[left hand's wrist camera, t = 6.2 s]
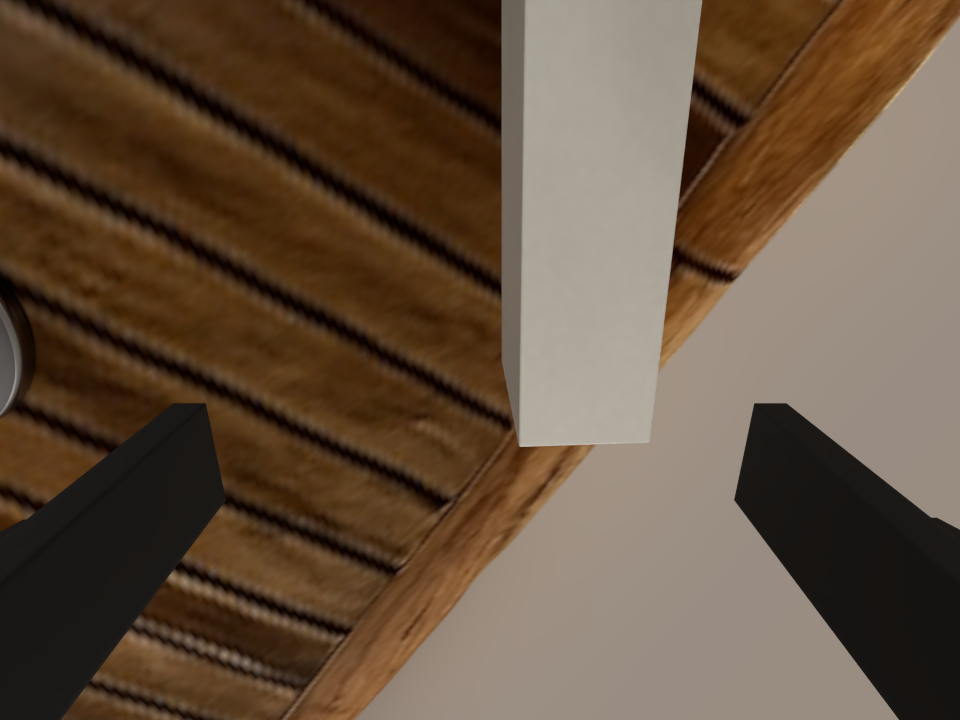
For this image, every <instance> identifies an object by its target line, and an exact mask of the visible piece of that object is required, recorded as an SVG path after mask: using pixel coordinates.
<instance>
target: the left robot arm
mask: <svg viewBox="0 0 960 720" xmlns="http://www.w3.org/2000/svg"><path fill="white" fill-rule="evenodd" d="M34 366H35V352H34V345H33V340H32V336H31V332H30V329H29V326H28V324H27V321H26V319H25V317H24V315H23V313H22V311H21V309H20V307H19V305H18V304H17V302H16V300H15V299H14V297H13V296H12V294H11V293H10V292H9V290H8V289H7V288H6V286H5V285H4V284H3V283H2V281H1V280H0V419H1V418H2V417H4V416H5V415H7V414H8V413H10V412H11V411H12V410H13V409H15V408H16V406H17V405H18V404H19V403H20V402H21V401H22V399H23V398H24V397H25V395H26V393H27V391H28V389H29V387H30V384H31V382H32V378H33V374H34ZM225 500H226V499H225V494H224V490H223V485H222V480H221V475H220V470H219V466H218V461H217V456H216V451H215V446H214V441H213V437H212V432H211V427H210V422H209V417H208V413H207V408H206V403H174V404H172V405H171V406H170V407H168V408H167V409H166V410H165V411H163V412H162V413H161V414H160V415H158V416H157V417H156V418H155V419H153V420H152V421H151V422H150V423H148V424H147V425H146V426H144V427H143V428H142V429H141V430H139V431H138V432H137V433H136V434H134V435H133V436H132V437H131V438H129V439H128V440H127V441H125V442H124V443H123V444H122V445H120V446H119V447H118V448H117V449H115V450H114V451H113V452H112V453H110V454H109V455H108V456H106V457H105V458H104V459H103V460H101V461H100V462H99V463H98V464H96V465H95V466H94V467H93V468H91V469H90V470H89V471H88V472H86V473H85V474H84V475H82V476H81V477H80V478H79V479H77V480H76V481H75V482H74V483H72V484H71V485H70V486H69V487H67V488H66V489H65V490H63V491H62V492H61V493H60V494H58V495H57V496H56V497H55V498H53V499H52V500H51V501H50V502H48V503H47V504H46V505H44V506H43V507H42V508H41V509H39V510H38V511H37V512H36V513H34V514H33V515H32V516H31V517H29V518H28V519H27V520H22V521H20V522H18V523H17V524H15V525H13V526H11V527H9V528H7V529H5V530H3V531H1V532H0V720H61V719H62V718H63V716H64V715H65V714H66V712H67V711H68V710H69V708H70V707H71V706H72V704H73V703H74V702H75V700H76V699H77V698H78V696H79V695H80V694H81V692H82V691H83V690H84V688H85V687H86V686H87V684H88V683H89V682H90V680H91V679H92V678H93V676H94V675H95V674H96V672H97V671H98V670H99V668H100V667H101V666H102V664H103V663H104V662H105V660H106V659H107V658H108V656H109V655H110V654H111V652H112V651H113V650H114V648H115V647H116V646H117V644H118V643H119V642H120V640H121V639H122V638H123V636H124V635H125V634H126V632H127V631H128V630H129V628H130V627H131V626H132V624H133V623H134V622H135V620H136V619H137V618H138V616H139V615H140V614H141V612H142V611H143V610H144V608H145V607H146V606H147V604H148V603H149V602H150V600H151V599H152V598H153V596H154V595H155V594H156V592H157V591H158V590H159V588H160V587H161V586H162V584H163V583H164V582H165V580H166V579H167V578H168V576H169V575H170V574H171V572H172V571H173V570H174V568H175V567H176V566H177V564H178V563H179V562H180V560H181V559H182V558H183V556H184V555H185V554H186V552H187V551H188V550H189V548H190V547H191V546H192V544H193V543H194V542H195V540H196V539H197V538H198V536H199V535H200V534H201V532H202V531H203V530H204V528H205V527H206V526H207V524H208V523H209V522H210V520H211V519H212V518H213V516H214V515H215V514H216V512H217V511H218V510H219V508H220V507H221V506H222V504H223V503H224V502H225ZM734 500H735V502H736V503H737V504H738V506H739V507H740V508H741V510H742V511H743V512H744V514H745V515H746V516H747V518H748V519H749V520H750V522H751V523H752V524H753V526H754V527H755V528H756V530H757V531H758V532H759V534H760V535H761V536H762V538H763V539H764V540H765V542H766V543H767V544H768V546H769V547H770V548H771V550H772V551H773V552H774V554H775V555H776V556H777V558H778V559H779V560H780V562H781V563H782V564H783V566H784V567H785V568H786V570H787V571H788V572H789V574H790V575H791V576H792V578H793V579H794V580H795V582H796V583H797V584H798V585H799V587H800V588H801V590H802V591H803V592H804V594H805V595H806V596H807V598H808V599H809V600H810V602H811V603H812V604H813V606H814V607H815V608H816V610H817V611H818V612H819V614H820V615H821V616H822V618H823V619H824V620H825V621H826V623H827V624H828V626H829V627H830V628H831V630H832V631H833V632H834V633H835V635H836V636H837V638H838V639H839V640H840V642H841V643H842V644H843V645H844V647H845V648H846V650H847V651H848V652H849V654H850V655H851V656H852V658H853V659H854V660H855V662H856V663H857V664H858V666H859V667H860V668H861V670H862V671H863V672H864V674H865V675H866V676H867V678H868V679H869V680H870V681H871V683H872V684H873V685H874V687H875V688H876V690H877V691H878V692H879V694H880V695H881V696H882V697H883V699H884V700H885V702H886V703H887V704H888V706H889V707H890V708H891V710H892V711H893V712H894V713H895V715H896V716H897V718H898V719H899V720H960V530H959V529H957V528H955V527H953V526H952V525H950V524H948V523H946V522H944V521H942V520H940V519H938V518H931V517H929V516H928V515H927V514H926V513H924V512H923V511H922V510H921V509H919V508H918V507H917V506H915V505H914V504H913V503H912V502H910V501H909V500H908V499H907V498H905V497H904V496H903V495H902V494H900V493H899V492H898V491H897V490H895V489H894V488H893V487H891V486H890V485H889V484H888V483H886V482H885V481H884V480H883V479H881V478H880V477H879V476H878V475H876V474H875V473H874V472H872V471H871V470H870V469H869V468H867V467H866V466H865V465H864V464H862V463H861V462H860V461H859V460H857V459H856V458H855V457H854V456H852V455H851V454H850V453H848V452H847V451H846V450H845V449H843V448H842V447H841V446H840V445H838V444H837V443H836V442H835V441H833V440H832V439H831V438H829V437H828V436H827V435H826V434H824V433H823V432H822V431H821V430H819V429H818V428H817V427H816V426H814V425H813V424H812V423H810V422H809V421H808V420H807V419H805V418H804V417H803V416H802V415H800V414H799V413H798V412H797V411H795V410H794V409H793V408H792V407H790V406H789V405H788V404H786V403H755V404H754V408H753V413H752V417H751V422H750V427H749V432H748V437H747V441H746V446H745V451H744V456H743V461H742V466H741V470H740V475H739V480H738V485H737V490H736V494H735V499H734Z"/></svg>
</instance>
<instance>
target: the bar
mask: <svg viewBox="0 0 960 720" xmlns="http://www.w3.org/2000/svg"><path fill="white" fill-rule="evenodd" d="M701 6H702V0H502V364H503V369H504V374H505V379H506V384H507V389H508V394H509V399H510V404H511V409H512V414H513V419H514V424H515V429H516V434H517V439H518V444H519V446H521V447H526V446H557V445H589V444H621V443H648V442H650V437H651V429H652V420H653V412H654V403H655V395H656V386H657V378H658V370H659V361H660V353H661V344H662V336H663V327H664V319H665V310H666V302H667V293H668V285H669V277H670V268H671V260H672V251H673V243H674V234H675V226H676V217H677V209H678V201H679V192H680V184H681V175H682V167H683V158H684V150H685V141H686V133H687V124H688V116H689V108H690V99H691V91H692V82H693V74H694V65H695V57H696V48H697V40H698V32H699V23H700V15H701Z"/></svg>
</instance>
